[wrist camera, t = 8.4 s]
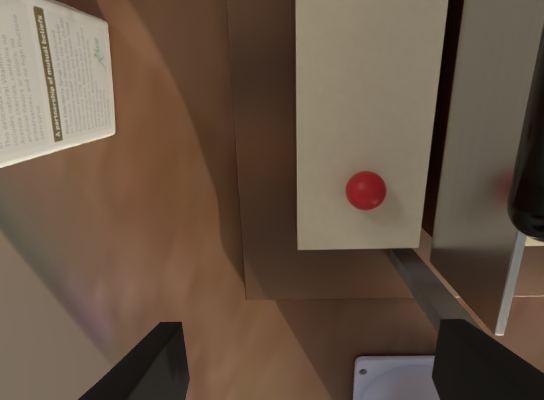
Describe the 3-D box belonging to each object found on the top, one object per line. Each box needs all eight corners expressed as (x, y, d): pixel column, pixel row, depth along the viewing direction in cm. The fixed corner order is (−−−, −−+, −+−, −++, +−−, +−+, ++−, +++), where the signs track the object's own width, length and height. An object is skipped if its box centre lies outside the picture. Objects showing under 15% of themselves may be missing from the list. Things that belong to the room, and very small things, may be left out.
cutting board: (537, 287, 20) (710, 417, 12) (247, 291, 21) (226, 417, 13) (675, -249, 13) (1367, -846, 5) (214, -219, 13) (113, -708, 5)
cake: (515, 218, 18) (597, 262, 13) (294, 223, 18) (299, 266, 14) (584, -100, 13) (741, -199, 9) (291, -85, 14) (297, -174, 9)
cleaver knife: (452, 261, 15) (573, 378, 9) (411, 262, 15) (503, 379, 9) (522, -179, 10) (892, -593, 4) (462, -176, 10) (737, -580, 4)
